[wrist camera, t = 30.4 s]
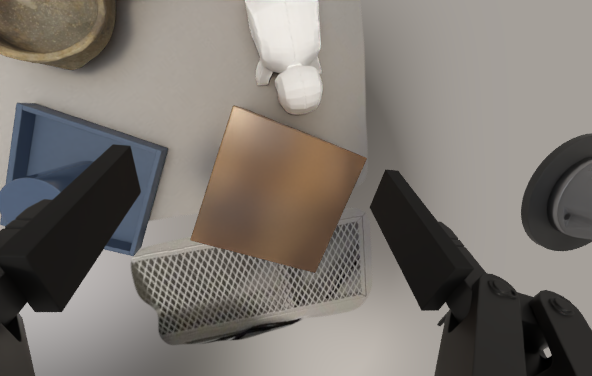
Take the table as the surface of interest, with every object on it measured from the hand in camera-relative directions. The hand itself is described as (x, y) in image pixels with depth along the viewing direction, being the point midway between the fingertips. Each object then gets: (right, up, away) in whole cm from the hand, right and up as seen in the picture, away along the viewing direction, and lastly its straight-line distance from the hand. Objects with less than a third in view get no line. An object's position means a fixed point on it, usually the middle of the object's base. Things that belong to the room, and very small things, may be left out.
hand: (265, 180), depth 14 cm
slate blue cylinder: (-25, 0, +19) cm, 32 cm away
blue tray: (-25, 0, +20) cm, 32 cm away
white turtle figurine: (0, +17, +19) cm, 25 cm away
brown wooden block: (-2, +3, +23) cm, 23 cm away
